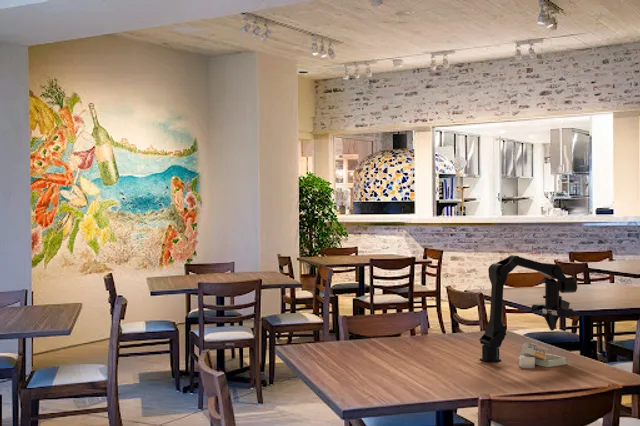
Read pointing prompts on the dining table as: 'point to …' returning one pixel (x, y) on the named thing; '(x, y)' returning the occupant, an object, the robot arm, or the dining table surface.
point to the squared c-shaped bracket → (551, 361)
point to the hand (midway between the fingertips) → (552, 330)
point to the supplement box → (534, 350)
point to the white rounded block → (526, 361)
